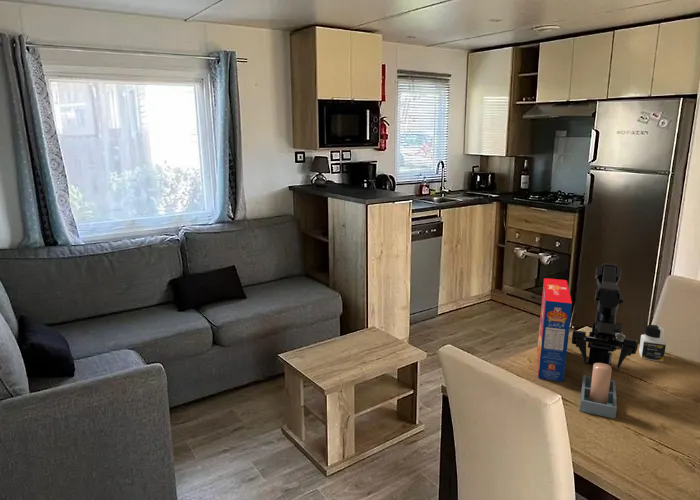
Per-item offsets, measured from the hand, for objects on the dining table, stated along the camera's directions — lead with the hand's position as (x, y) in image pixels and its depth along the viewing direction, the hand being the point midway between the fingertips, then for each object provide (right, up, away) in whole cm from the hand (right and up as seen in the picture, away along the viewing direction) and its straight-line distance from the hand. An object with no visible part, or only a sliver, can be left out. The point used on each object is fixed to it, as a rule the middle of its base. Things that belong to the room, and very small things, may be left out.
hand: (601, 366), depth 159 cm
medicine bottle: (+34, -4, +31) cm, 46 cm away
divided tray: (-1, -11, 0) cm, 11 cm away
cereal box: (-6, -5, +26) cm, 27 cm away
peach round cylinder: (-3, -11, -4) cm, 12 cm away
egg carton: (+26, -1, +42) cm, 49 cm away
